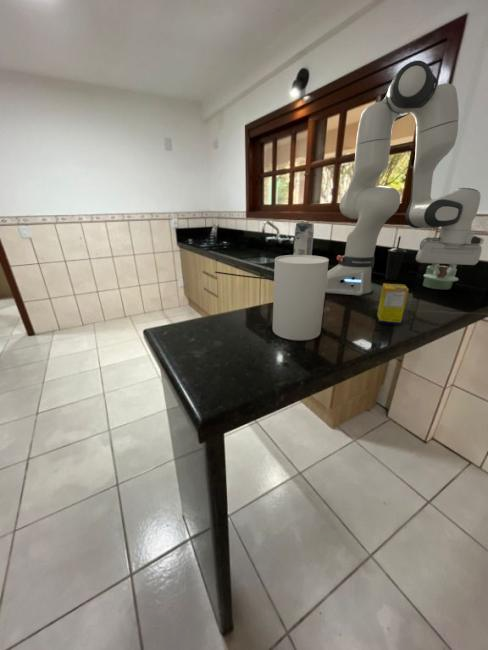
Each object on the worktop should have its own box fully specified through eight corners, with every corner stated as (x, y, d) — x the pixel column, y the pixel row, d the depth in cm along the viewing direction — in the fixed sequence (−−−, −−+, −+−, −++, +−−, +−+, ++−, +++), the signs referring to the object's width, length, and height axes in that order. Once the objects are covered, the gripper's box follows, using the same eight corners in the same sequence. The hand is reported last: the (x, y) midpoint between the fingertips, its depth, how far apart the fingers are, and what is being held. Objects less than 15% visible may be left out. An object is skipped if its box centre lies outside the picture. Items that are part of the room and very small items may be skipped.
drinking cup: (402, 280, 126) (413, 237, 118) (386, 280, 126) (396, 237, 118) (394, 277, 133) (403, 235, 125) (379, 277, 133) (387, 235, 125)
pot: (428, 290, 111) (434, 270, 107) (418, 284, 120) (423, 265, 116) (455, 291, 109) (462, 270, 106) (442, 284, 118) (448, 265, 115)
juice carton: (310, 270, 149) (315, 219, 138) (308, 274, 140) (312, 220, 129) (295, 269, 152) (298, 219, 141) (291, 273, 143) (294, 220, 132)
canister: (262, 328, 76) (264, 258, 68) (294, 317, 84) (299, 253, 76) (297, 345, 66) (304, 266, 58) (330, 331, 74) (339, 259, 66)
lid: (431, 282, 98) (435, 268, 96) (417, 275, 108) (421, 263, 106) (464, 283, 96) (469, 269, 94) (447, 277, 106) (451, 264, 104)
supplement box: (396, 318, 82) (405, 284, 78) (400, 325, 77) (409, 289, 73) (376, 316, 84) (382, 282, 80) (378, 323, 79) (385, 287, 75)
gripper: (426, 237, 95) (415, 275, 100) (489, 239, 92) (475, 278, 97) (418, 236, 100) (408, 272, 106) (477, 238, 98) (464, 275, 103)
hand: (441, 275), depth 102 cm, fingers closed on lid, 2 cm apart
